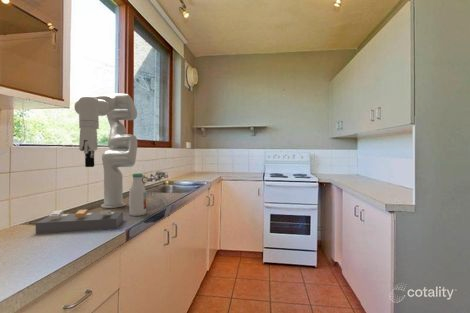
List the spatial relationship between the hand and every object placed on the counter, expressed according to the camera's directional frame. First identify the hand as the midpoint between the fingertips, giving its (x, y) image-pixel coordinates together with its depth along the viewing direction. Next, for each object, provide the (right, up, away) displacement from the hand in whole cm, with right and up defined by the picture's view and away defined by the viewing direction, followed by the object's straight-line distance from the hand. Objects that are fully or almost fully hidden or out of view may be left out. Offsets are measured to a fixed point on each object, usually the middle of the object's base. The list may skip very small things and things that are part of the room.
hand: (89, 166), depth 116 cm
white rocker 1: (-6, -19, -12) cm, 24 cm away
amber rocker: (+2, -19, -10) cm, 22 cm away
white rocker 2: (+11, -19, -8) cm, 24 cm away
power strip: (+2, -24, -8) cm, 26 cm away
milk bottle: (+17, -24, +13) cm, 32 cm away
